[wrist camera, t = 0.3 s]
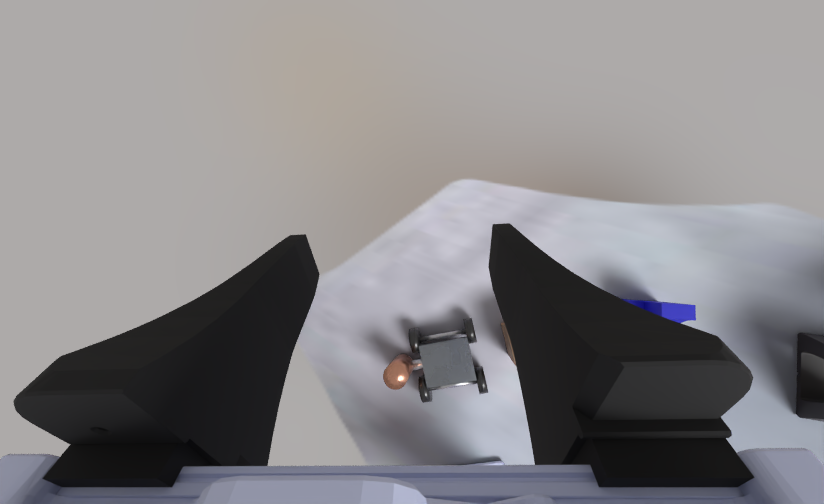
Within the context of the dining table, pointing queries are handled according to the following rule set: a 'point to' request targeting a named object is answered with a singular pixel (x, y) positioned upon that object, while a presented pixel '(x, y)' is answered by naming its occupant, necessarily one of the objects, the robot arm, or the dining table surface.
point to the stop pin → (400, 371)
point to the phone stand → (810, 377)
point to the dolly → (447, 361)
